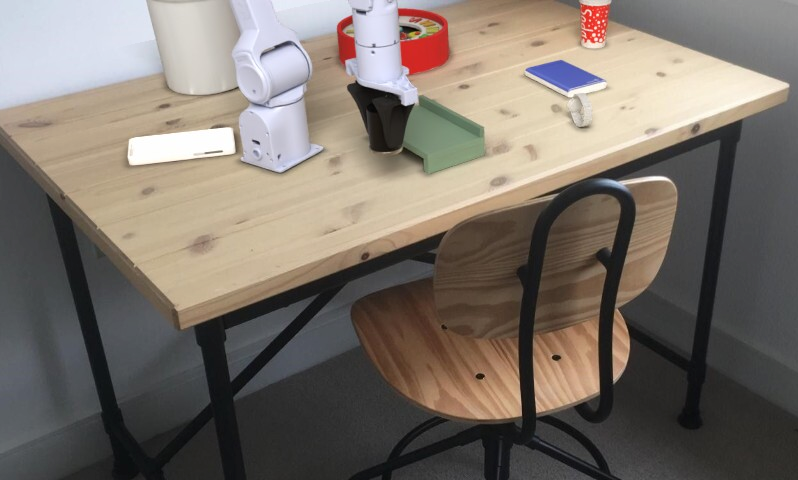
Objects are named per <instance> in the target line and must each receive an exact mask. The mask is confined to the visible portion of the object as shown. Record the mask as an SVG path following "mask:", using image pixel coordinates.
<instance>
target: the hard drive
mask: <svg viewBox="0 0 798 480" xmlns="http://www.w3.org/2000/svg"><path fill="white" fill-rule="evenodd" d="M524 73H525V76H526V77H528V78H529V79H531V80H533V81H535V82H537V83H539V84H541V85H543V86H545V87H547V88H550V89H551V90H553V91H555V92H557V93H559V94H561V95H563V96H565V97H566V98H570V99H571V98H572V97H573V95H574V94H579V93H585V94H586V95H587V94H590V93H593V92H598V91H601V90H605V89H606V88H607V80H606V79H604V78H602V77H600V76H598V75H595V74H593V73H591V72H590V71H587V70H584V69H582V68H580V67H578V66H576V65H574V64H572V63H569V62H567V61H565V60H563V59H559V60H553V61H550V62H546V63H542V64H538V65H533V66H529V67H527V68H525V71H524Z"/></svg>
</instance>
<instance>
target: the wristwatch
mask: <svg viewBox="0 0 798 480" xmlns="http://www.w3.org/2000/svg"><path fill="white" fill-rule="evenodd" d="M566 108H567V110H568V111H569V112H570V115H571V118H572V121H573V123H574V125H575V126H576V127H578V128H582V127H583V128H584V127H588V126H590V125H591V124H592V119H593V106H592V103H591V101H590V98H589V96H588V95H587V93H586V94H585V93H579V94H574V95H573V97H571V98H570V99H569V100H568V102H567V104H566ZM582 109H583V114H582V116H581V110H582Z"/></svg>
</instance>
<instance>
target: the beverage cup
mask: <svg viewBox="0 0 798 480" xmlns="http://www.w3.org/2000/svg"><path fill="white" fill-rule="evenodd" d="M578 2H579V4H580V5H579V8H580V9H579V10H580V15H579V17H580V45H581V47H583V48H586V49H593V50H594V49H602V48H604V47H605V46H606V42H607V36H608V35H607V33H608V25H609V18H610V16H609V15H610V9H611V3H612V2H613V1H612V0H578Z"/></svg>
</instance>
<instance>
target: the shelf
mask: <svg viewBox="0 0 798 480" xmlns="http://www.w3.org/2000/svg"><path fill="white" fill-rule="evenodd" d="M485 145H486V144H485V127H484V126H483V125H481V124H479V123H477V122H476V121H473V120H472V119H470V118H468V117H466V116H463V115H462V114H460V113H458V112H456V111H454V110H452V109H450V108H448V107H447V106H444V105H443V104H441V103H439V102H437V101H435V100H433V99H432V98H430V97H428V96H426V95H424V94H420V95H418V104H417V105H414V106H413V108H412V110H411V113H410V115H409V118H408V121H407V125H406V130H405V135H404V140H403V148H405V149H407V150H408V151H410V152H411V153H413V154H415V155H417V156H419V157H420V158H421V159H423V172H424V173H426V174H428V175H430V174H433V173H437V172H439V171H442V170H445V169H448V168H452V167H454V166H457V165H461V164H463V163H467V162H469V161H472V160H475V159H478V158H481V157H484V156H485V155H486V153H485V151H486V150H485V149H486V148H485Z"/></svg>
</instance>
